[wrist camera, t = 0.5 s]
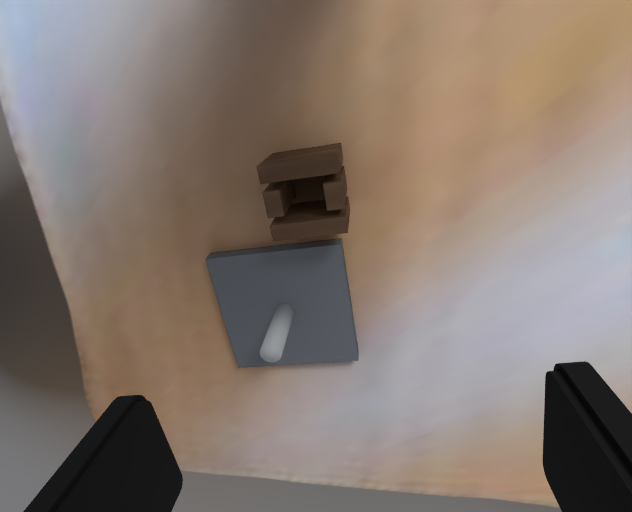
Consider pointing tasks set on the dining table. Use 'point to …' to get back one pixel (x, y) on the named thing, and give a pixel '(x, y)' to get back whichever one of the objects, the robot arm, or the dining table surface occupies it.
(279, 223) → the wooden block stack
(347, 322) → the stand
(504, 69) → the dining table surface
